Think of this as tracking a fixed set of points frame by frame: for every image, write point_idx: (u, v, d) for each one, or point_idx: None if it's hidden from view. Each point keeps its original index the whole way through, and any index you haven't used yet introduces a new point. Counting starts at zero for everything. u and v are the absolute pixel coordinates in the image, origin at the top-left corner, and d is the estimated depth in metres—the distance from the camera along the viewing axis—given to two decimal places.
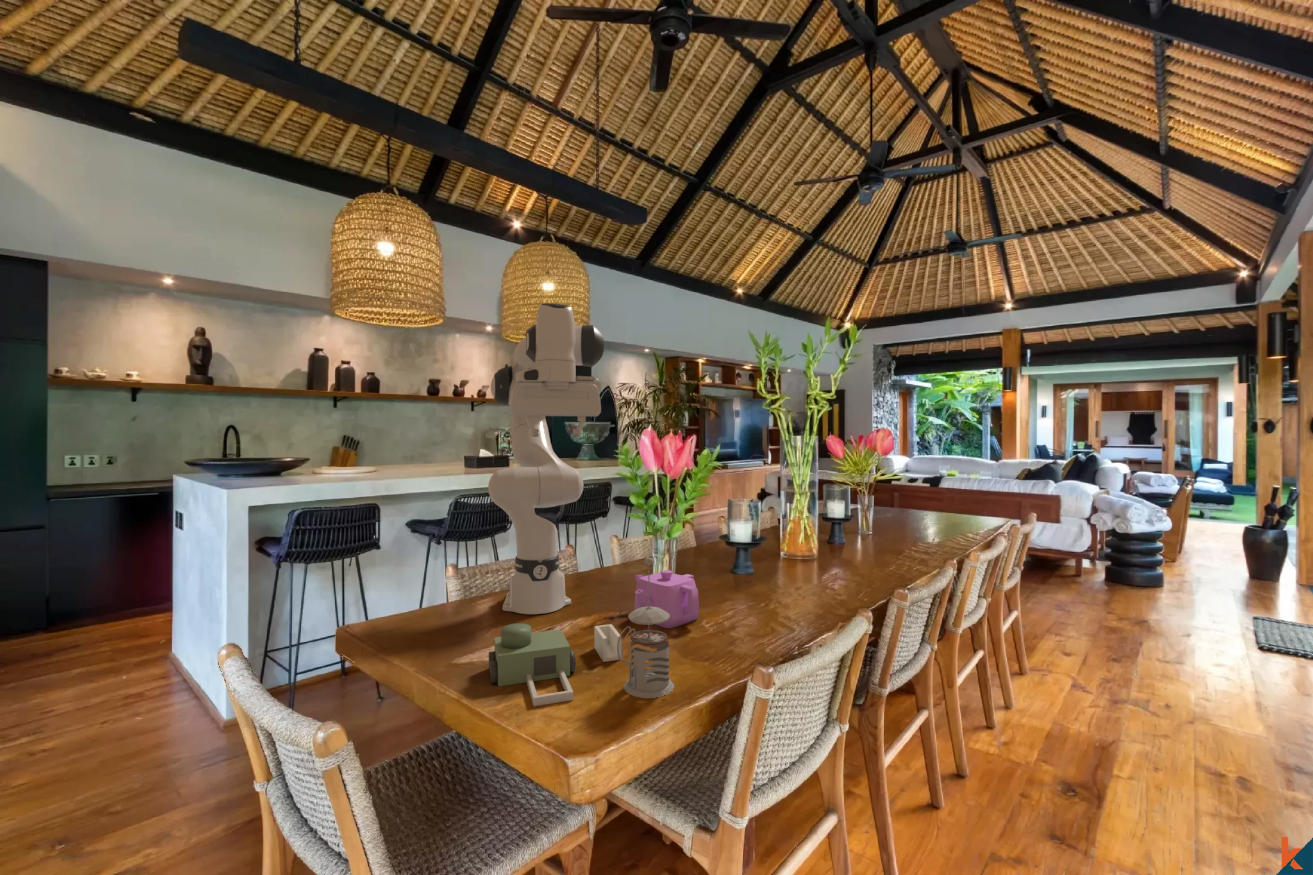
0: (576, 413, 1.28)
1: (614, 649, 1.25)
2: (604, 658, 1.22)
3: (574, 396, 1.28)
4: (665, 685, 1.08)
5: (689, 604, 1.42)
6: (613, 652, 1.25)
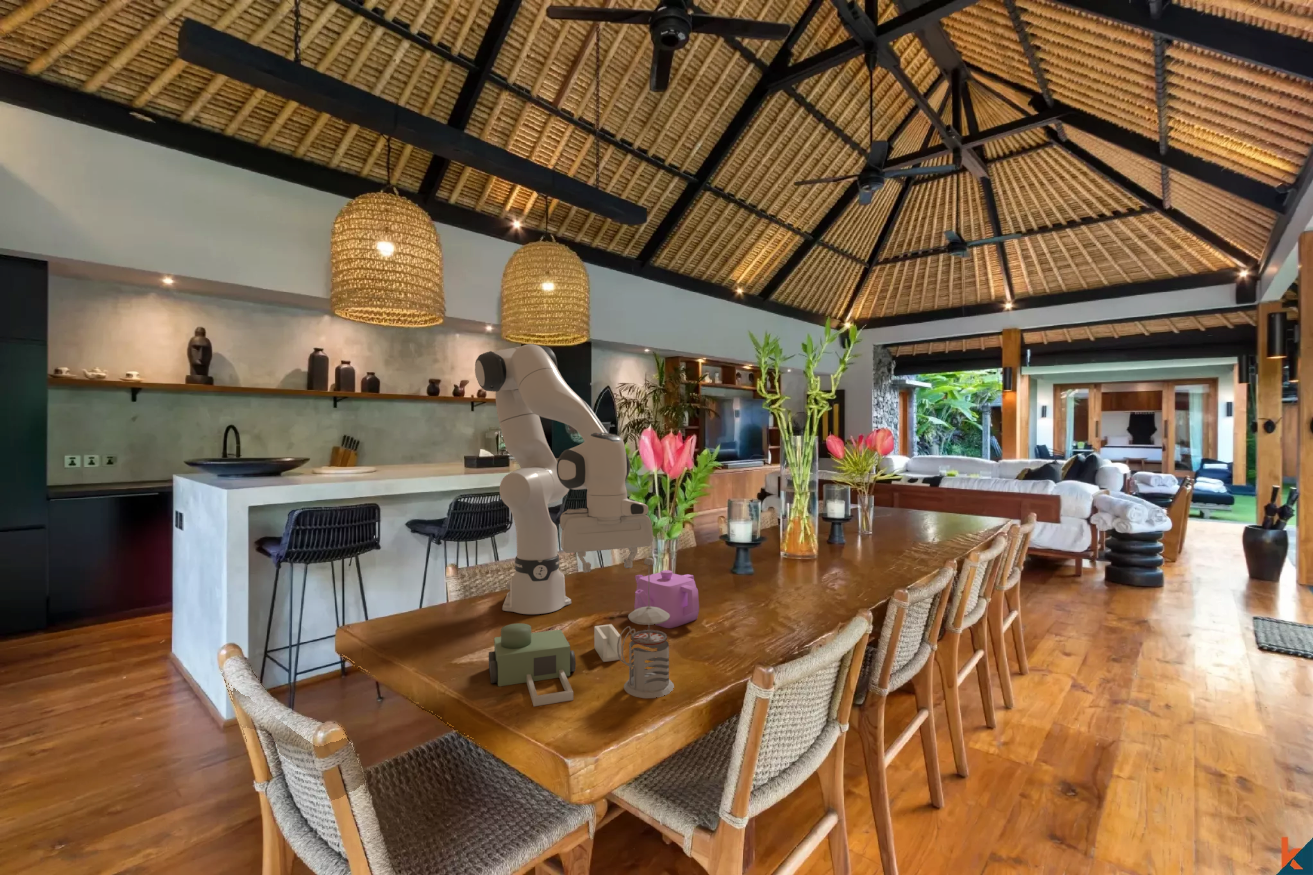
0: None
1: (614, 649, 1.25)
2: (604, 658, 1.22)
3: None
4: (665, 685, 1.08)
5: (689, 604, 1.42)
6: (613, 652, 1.25)
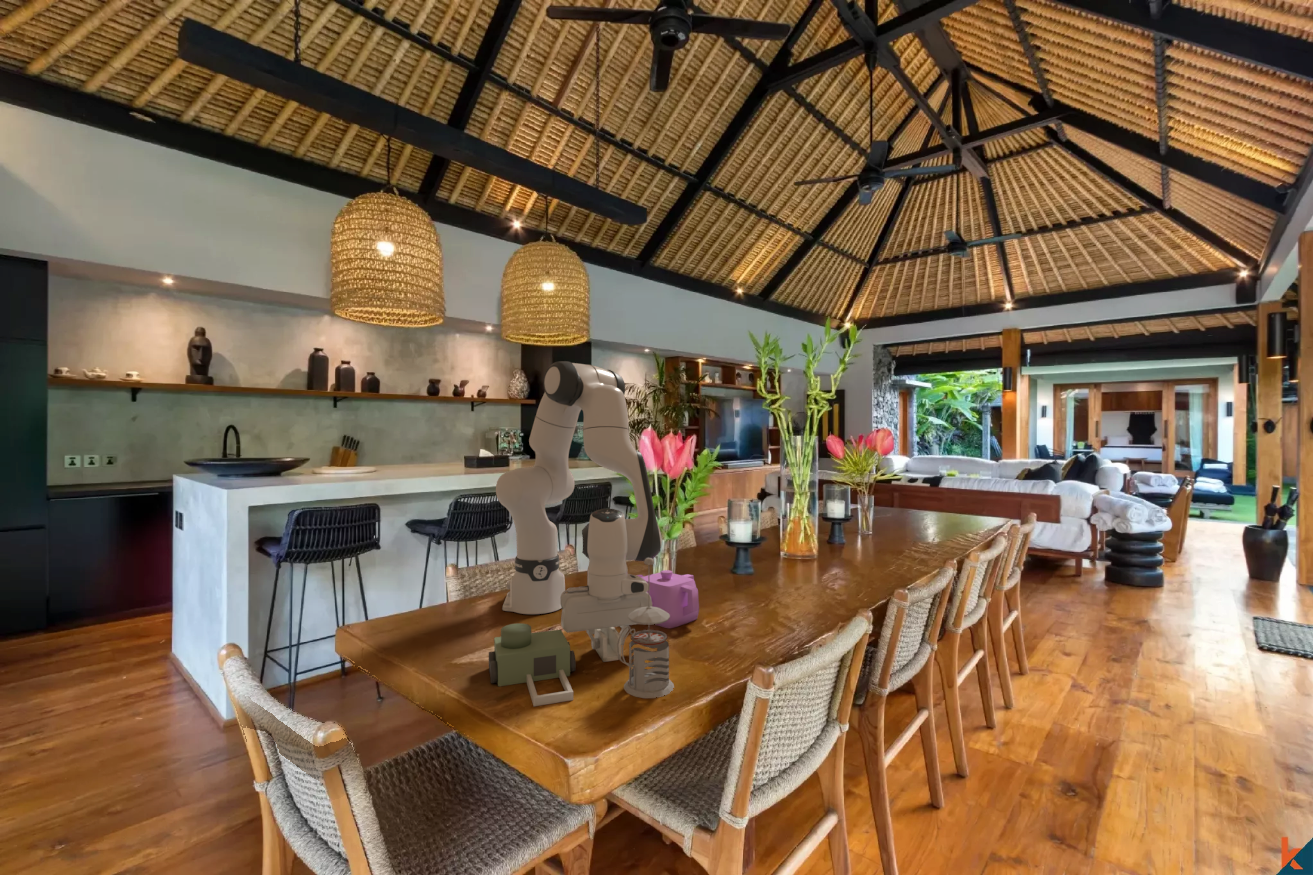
0: None
1: (614, 649, 1.25)
2: (604, 658, 1.22)
3: None
4: (665, 685, 1.08)
5: (689, 605, 1.42)
6: (613, 652, 1.25)
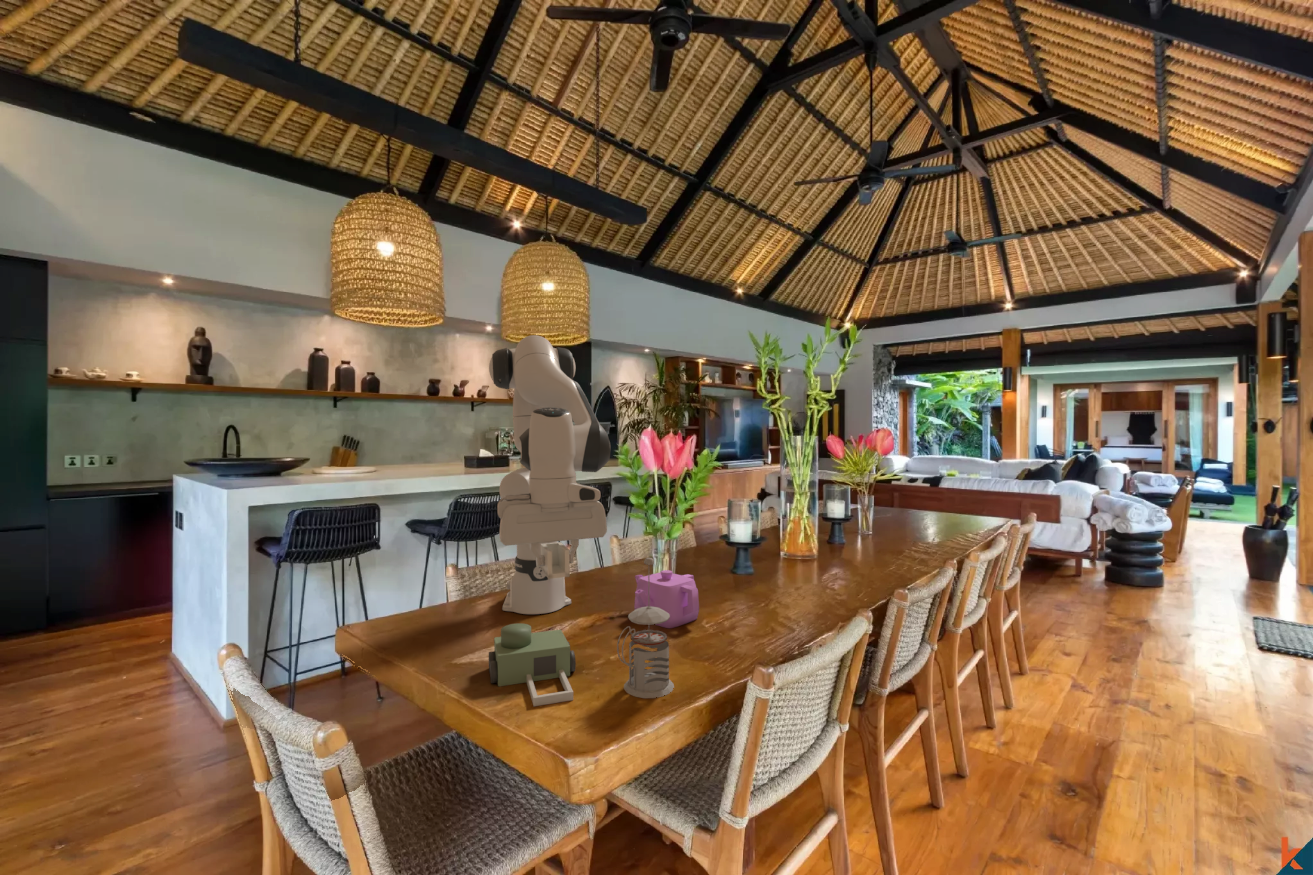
0: None
1: (562, 567, 1.09)
2: (549, 574, 1.05)
3: None
4: (665, 685, 1.08)
5: (689, 604, 1.42)
6: (561, 570, 1.08)
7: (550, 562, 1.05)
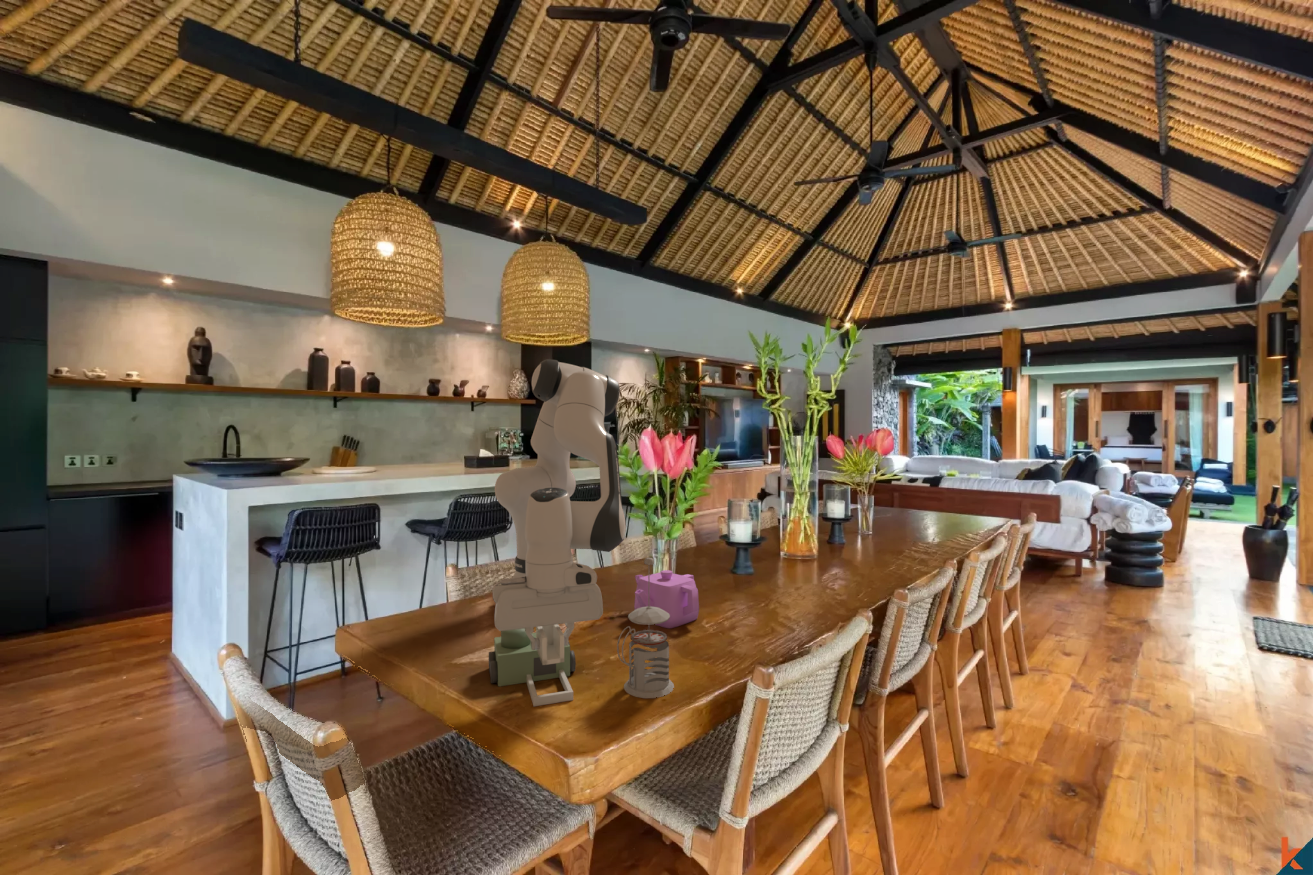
0: None
1: (557, 650, 1.08)
2: (543, 661, 1.04)
3: None
4: (665, 685, 1.08)
5: (689, 605, 1.42)
6: (556, 654, 1.07)
7: (545, 648, 1.04)
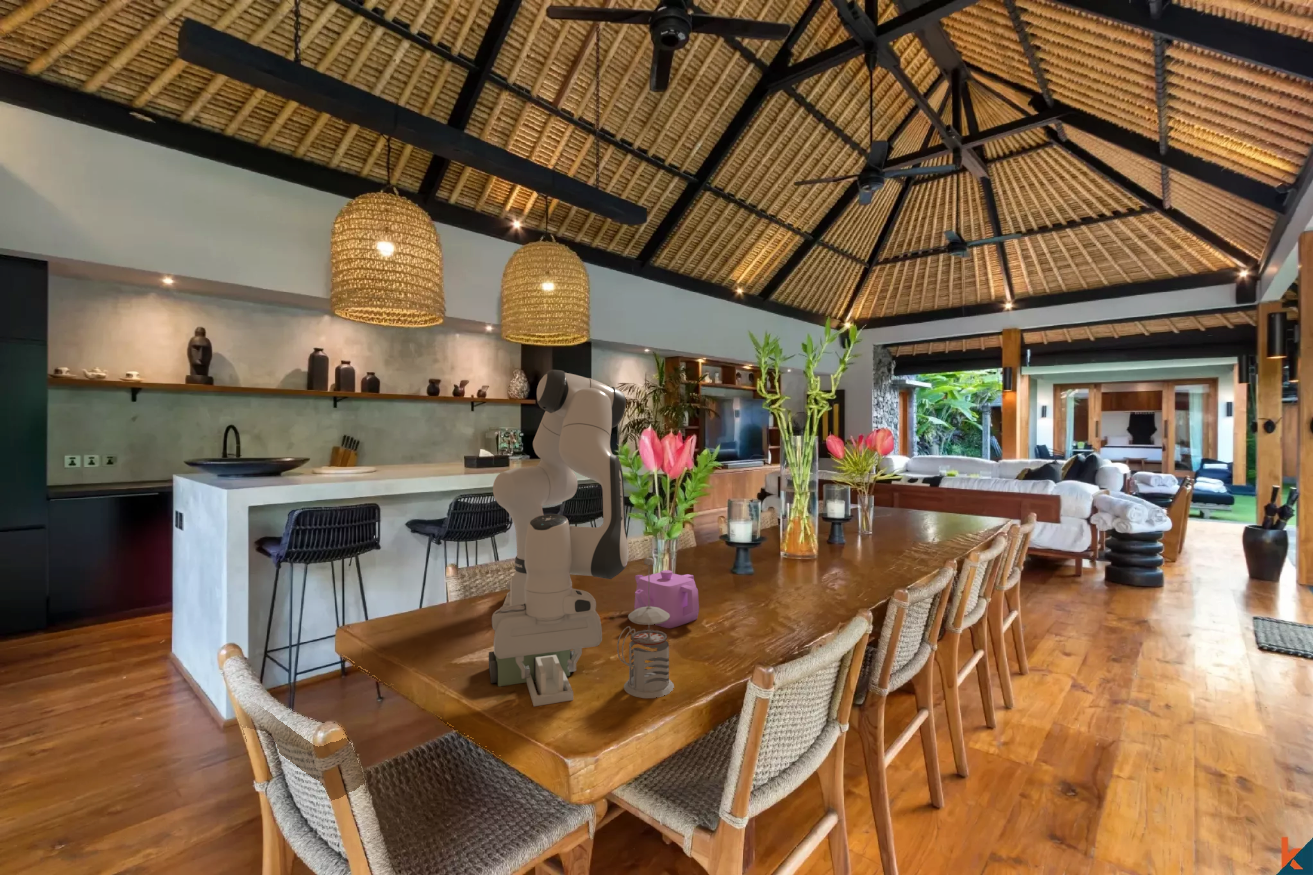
0: None
1: (556, 685, 1.08)
2: None
3: None
4: (665, 685, 1.08)
5: (689, 604, 1.42)
6: (555, 689, 1.07)
7: (544, 684, 1.04)
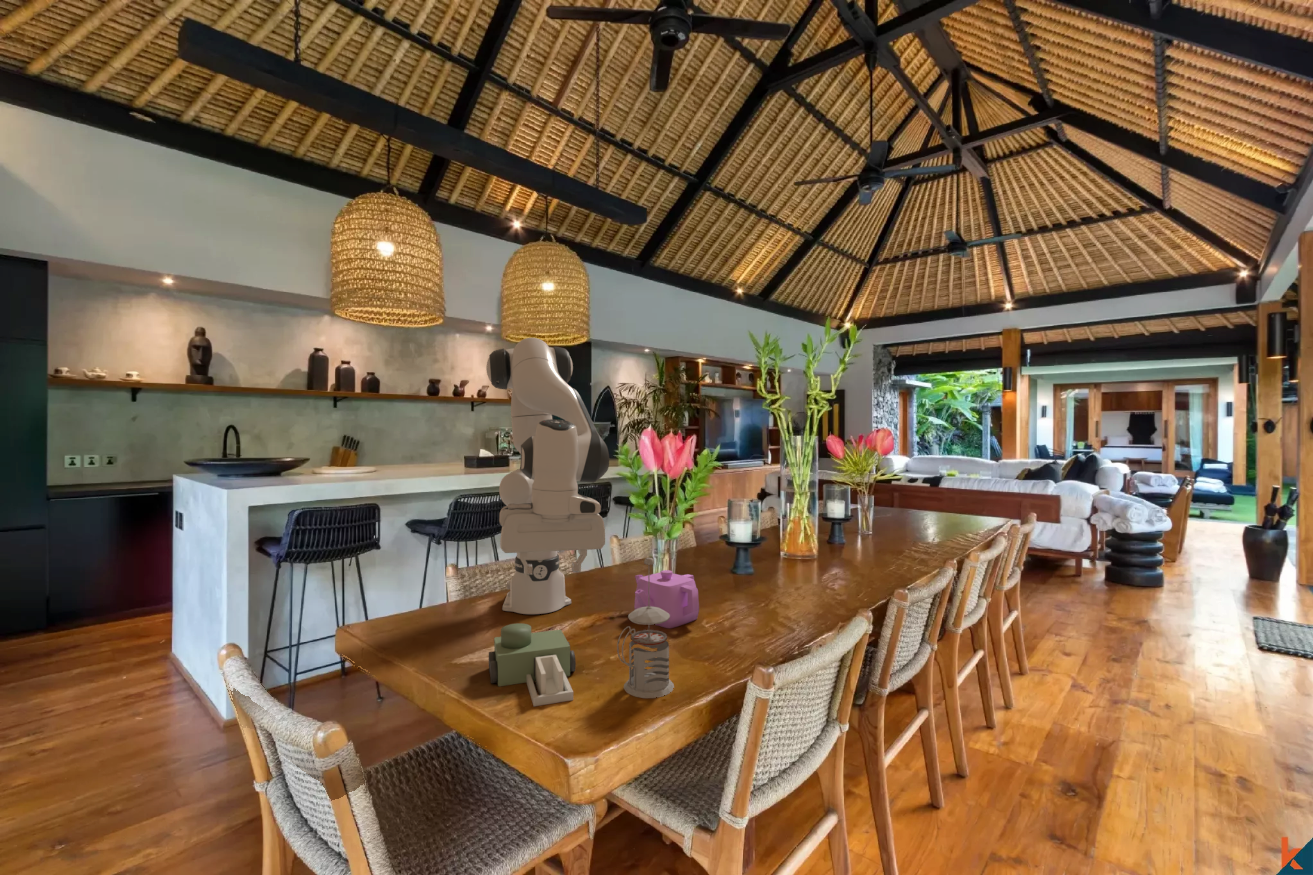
0: None
1: (556, 685, 1.08)
2: None
3: None
4: (665, 685, 1.08)
5: (689, 604, 1.42)
6: (555, 689, 1.07)
7: (544, 684, 1.04)
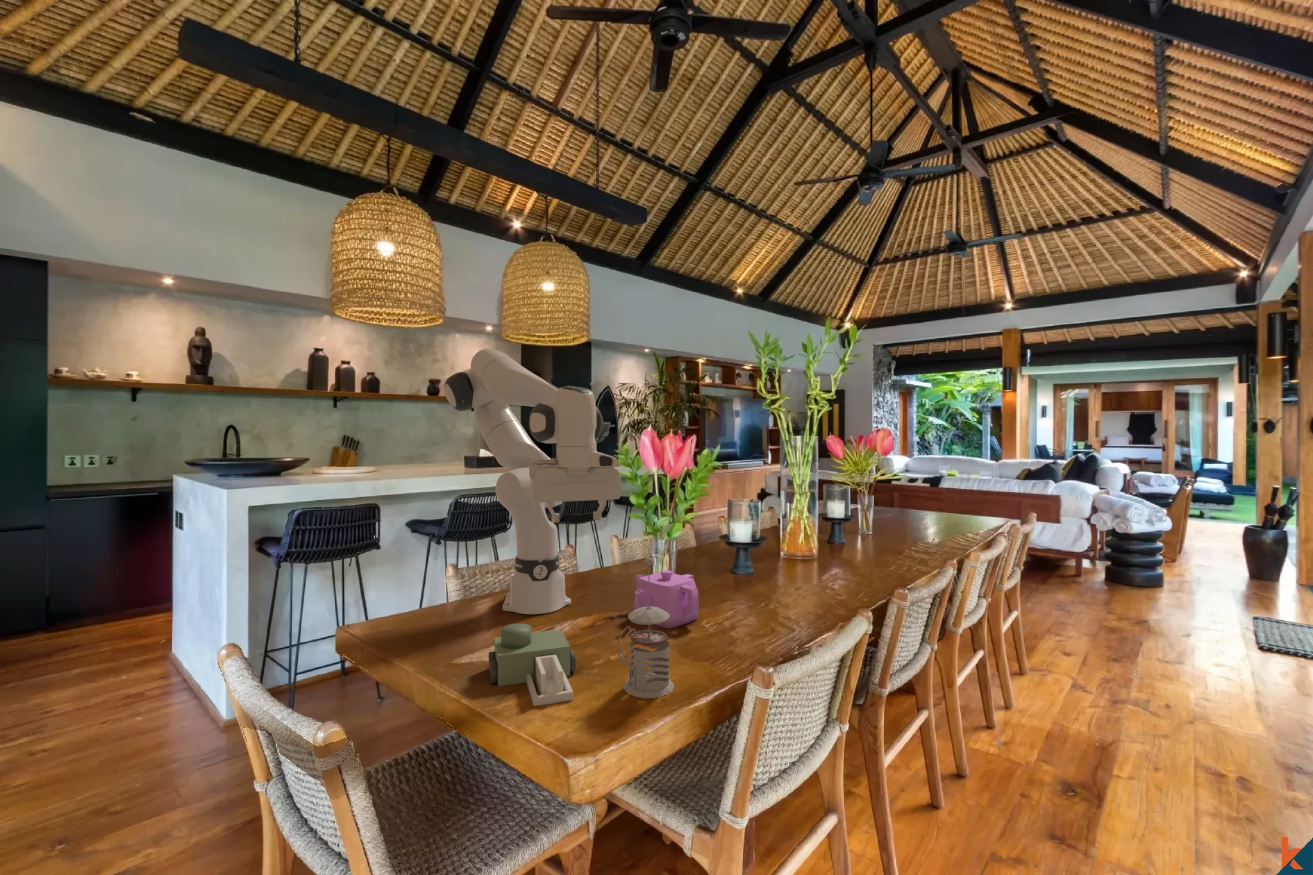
0: None
1: (556, 685, 1.08)
2: None
3: None
4: (665, 685, 1.08)
5: (689, 604, 1.42)
6: (555, 689, 1.07)
7: (544, 684, 1.04)
